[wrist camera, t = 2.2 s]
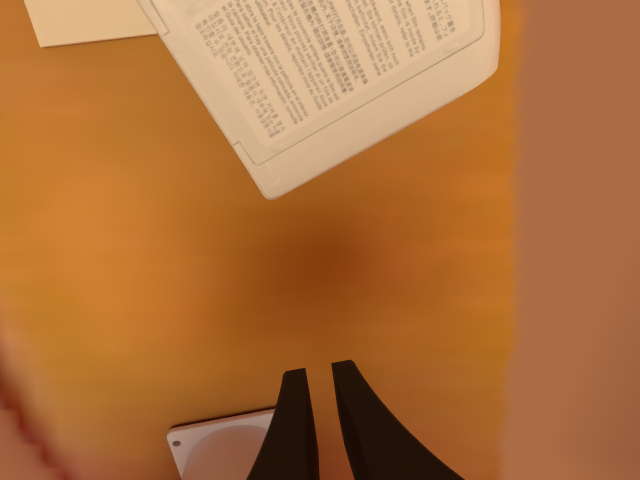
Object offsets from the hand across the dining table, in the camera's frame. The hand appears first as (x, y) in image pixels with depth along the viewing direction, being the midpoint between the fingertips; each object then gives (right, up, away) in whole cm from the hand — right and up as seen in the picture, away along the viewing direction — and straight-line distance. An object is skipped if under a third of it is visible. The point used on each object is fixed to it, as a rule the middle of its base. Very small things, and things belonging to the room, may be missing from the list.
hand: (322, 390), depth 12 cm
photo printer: (-5, +10, +4) cm, 12 cm away
